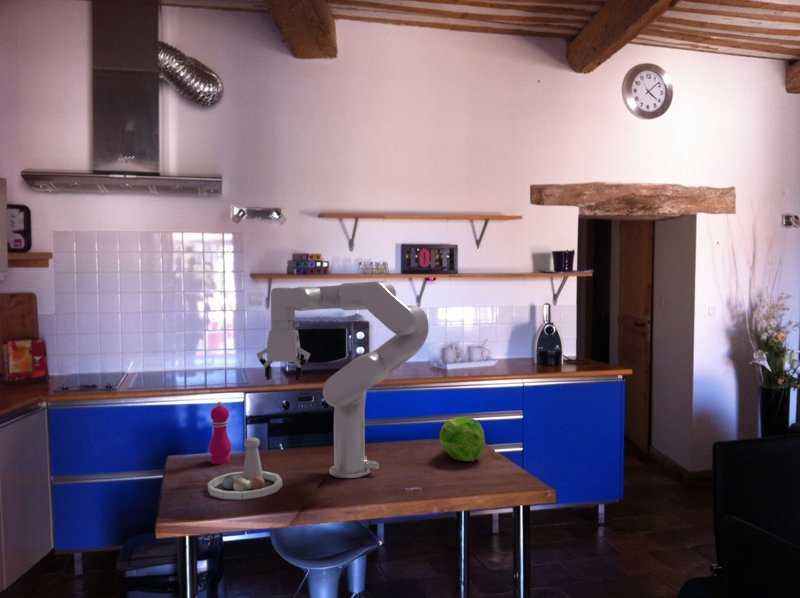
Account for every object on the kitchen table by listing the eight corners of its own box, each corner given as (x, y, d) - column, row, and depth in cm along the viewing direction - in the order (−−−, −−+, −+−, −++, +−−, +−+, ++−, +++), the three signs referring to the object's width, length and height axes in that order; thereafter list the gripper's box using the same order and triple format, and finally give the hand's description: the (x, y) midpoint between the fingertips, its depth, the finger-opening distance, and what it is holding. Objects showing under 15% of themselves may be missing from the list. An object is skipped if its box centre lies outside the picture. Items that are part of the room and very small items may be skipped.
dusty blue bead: (236, 492, 183) (238, 482, 186) (236, 482, 181) (238, 472, 185) (221, 492, 182) (223, 482, 186) (221, 481, 181) (223, 471, 184)
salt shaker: (265, 479, 192) (264, 436, 192) (259, 485, 186) (258, 440, 186) (246, 479, 193) (245, 435, 192) (239, 485, 187) (238, 440, 187)
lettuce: (428, 457, 228) (470, 461, 231) (444, 460, 207) (490, 464, 209) (432, 415, 231) (473, 419, 234) (447, 413, 210) (492, 417, 212)
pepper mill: (236, 460, 217) (235, 400, 216) (221, 465, 210) (221, 404, 210) (219, 457, 220) (218, 399, 219) (204, 463, 213) (203, 402, 213)
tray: (289, 482, 193) (289, 472, 193) (268, 505, 173) (268, 493, 173) (224, 480, 195) (224, 470, 195) (196, 502, 175) (196, 491, 175)
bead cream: (247, 495, 180) (251, 482, 183) (244, 488, 178) (247, 475, 180) (233, 495, 181) (237, 482, 184) (230, 487, 178) (233, 474, 181)
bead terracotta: (262, 493, 181) (269, 483, 184) (257, 483, 179) (264, 472, 183) (250, 493, 182) (257, 483, 186) (245, 482, 181) (252, 472, 184)
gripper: (312, 325, 210) (312, 378, 211) (260, 325, 212) (261, 377, 213) (306, 327, 203) (307, 381, 203) (252, 326, 205) (253, 381, 205)
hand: (283, 379), depth 208 cm, fingers open, 9 cm apart
